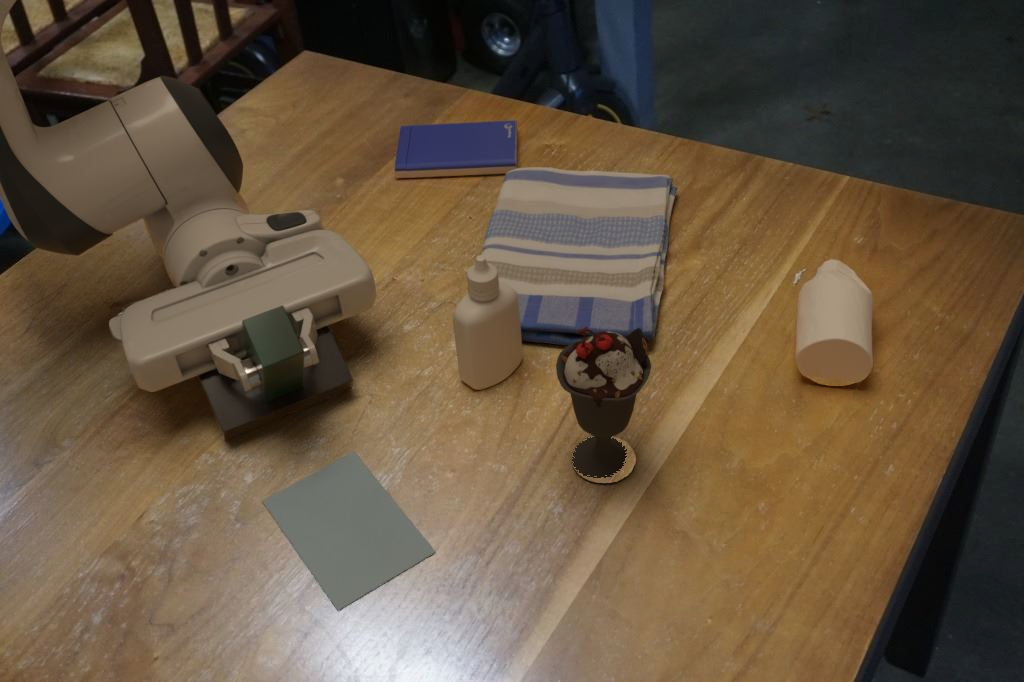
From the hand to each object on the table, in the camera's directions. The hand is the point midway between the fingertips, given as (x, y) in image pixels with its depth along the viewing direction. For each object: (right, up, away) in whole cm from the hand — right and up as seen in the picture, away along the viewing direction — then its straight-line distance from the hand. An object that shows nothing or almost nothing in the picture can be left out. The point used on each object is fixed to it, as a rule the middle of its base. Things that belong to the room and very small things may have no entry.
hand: (281, 371), depth 83 cm
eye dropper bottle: (+16, 0, +8) cm, 18 cm away
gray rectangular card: (+5, -11, -3) cm, 13 cm away
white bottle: (+44, +3, +9) cm, 45 cm away
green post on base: (-2, -1, +7) cm, 7 cm away
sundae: (+24, -7, +1) cm, 25 cm away
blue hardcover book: (+12, +22, +32) cm, 40 cm away
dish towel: (+23, +10, +18) cm, 31 cm away
